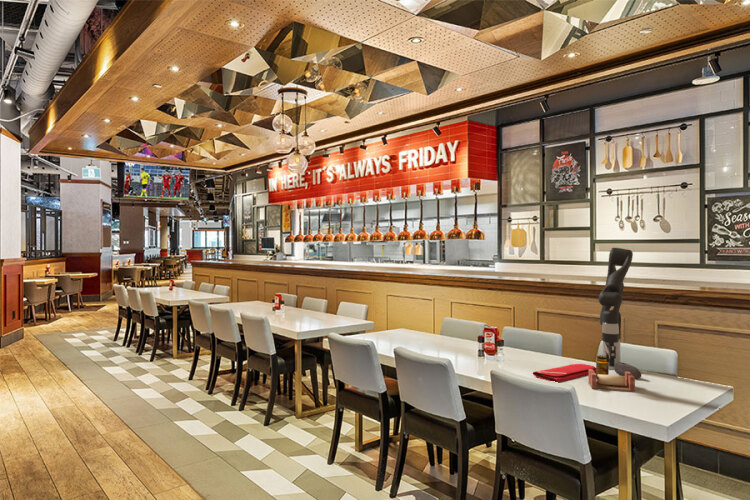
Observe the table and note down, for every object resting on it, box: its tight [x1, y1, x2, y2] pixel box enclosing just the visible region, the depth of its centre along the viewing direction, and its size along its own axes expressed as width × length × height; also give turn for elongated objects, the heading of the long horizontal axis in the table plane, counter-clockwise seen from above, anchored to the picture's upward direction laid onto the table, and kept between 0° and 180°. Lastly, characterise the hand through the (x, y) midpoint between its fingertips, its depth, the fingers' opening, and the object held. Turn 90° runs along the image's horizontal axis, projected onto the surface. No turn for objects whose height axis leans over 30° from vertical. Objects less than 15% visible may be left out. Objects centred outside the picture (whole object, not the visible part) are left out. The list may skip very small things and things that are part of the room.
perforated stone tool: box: [614, 361, 642, 380], centre depth 258 cm, size 15×5×7 cm, turn 22°
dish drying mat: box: [532, 363, 596, 383], centre depth 264 cm, size 16×41×4 cm, turn 124°
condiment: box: [595, 354, 610, 375], centre depth 255 cm, size 7×8×12 cm
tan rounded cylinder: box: [597, 374, 625, 386], centre depth 238 cm, size 12×5×5 cm, turn 74°
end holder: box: [587, 369, 636, 393], centre depth 238 cm, size 12×19×7 cm, turn 74°
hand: (610, 364), depth 239 cm, fingers open, 8 cm apart
